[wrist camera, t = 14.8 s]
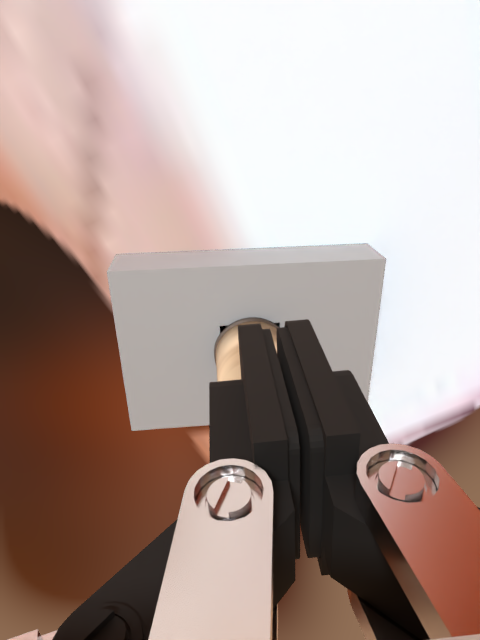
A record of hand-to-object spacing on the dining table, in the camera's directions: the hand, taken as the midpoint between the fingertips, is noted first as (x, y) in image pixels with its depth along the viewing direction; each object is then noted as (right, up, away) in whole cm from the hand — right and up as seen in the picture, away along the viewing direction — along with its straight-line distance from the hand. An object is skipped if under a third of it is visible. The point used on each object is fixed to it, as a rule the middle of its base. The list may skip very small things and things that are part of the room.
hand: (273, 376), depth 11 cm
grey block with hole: (0, +1, +28) cm, 28 cm away
